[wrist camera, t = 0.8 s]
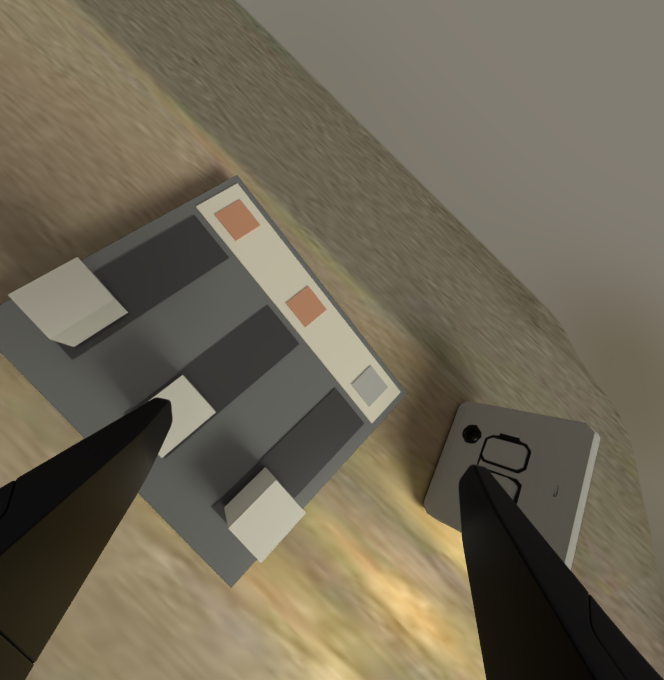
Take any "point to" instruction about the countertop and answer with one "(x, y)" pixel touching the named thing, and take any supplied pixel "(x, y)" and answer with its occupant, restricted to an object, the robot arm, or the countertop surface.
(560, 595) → the robot arm
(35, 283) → the switch tab
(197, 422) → the switch tab
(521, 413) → the electrical switch
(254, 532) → the switch tab
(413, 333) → the countertop surface
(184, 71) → the countertop surface
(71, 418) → the switch housing
